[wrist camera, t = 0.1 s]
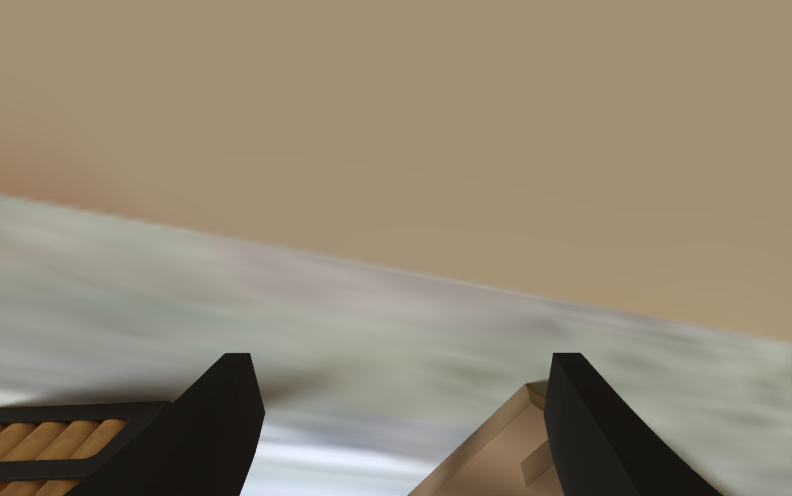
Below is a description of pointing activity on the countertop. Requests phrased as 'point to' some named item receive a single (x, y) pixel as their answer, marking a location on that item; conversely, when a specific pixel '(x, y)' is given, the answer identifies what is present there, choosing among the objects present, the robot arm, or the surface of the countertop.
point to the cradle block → (501, 456)
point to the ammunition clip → (65, 443)
